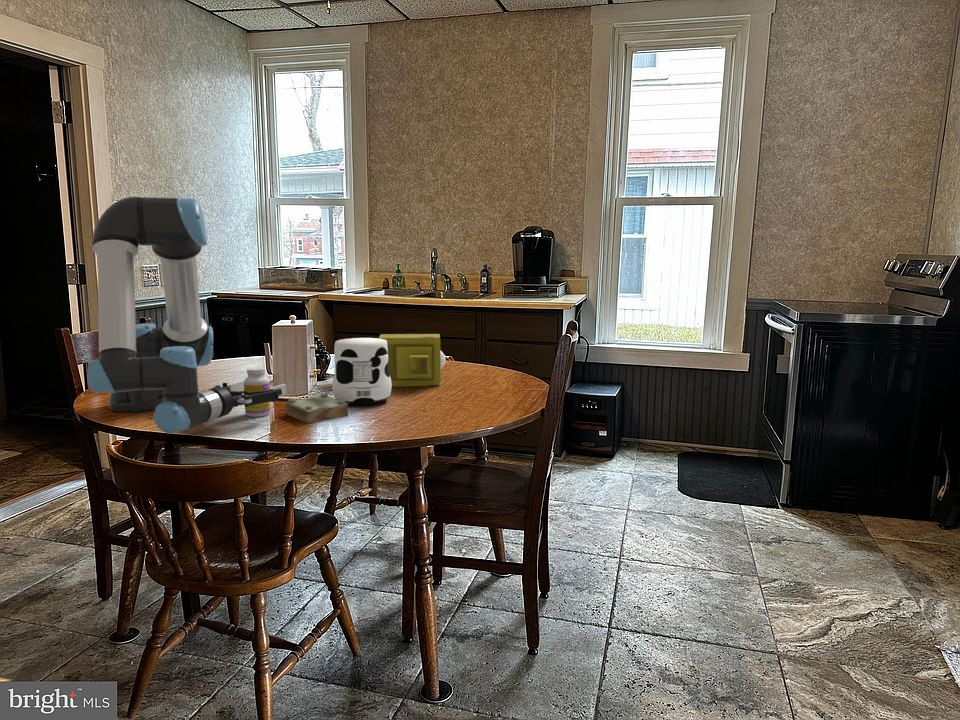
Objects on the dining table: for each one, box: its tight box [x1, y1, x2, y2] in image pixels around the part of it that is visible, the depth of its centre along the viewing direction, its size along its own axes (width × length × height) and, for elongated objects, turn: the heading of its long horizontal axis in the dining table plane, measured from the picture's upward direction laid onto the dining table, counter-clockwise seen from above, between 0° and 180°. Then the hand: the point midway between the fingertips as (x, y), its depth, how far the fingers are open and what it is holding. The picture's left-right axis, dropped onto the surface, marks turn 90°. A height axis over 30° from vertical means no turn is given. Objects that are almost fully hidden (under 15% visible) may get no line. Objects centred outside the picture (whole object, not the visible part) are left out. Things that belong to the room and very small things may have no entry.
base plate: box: [286, 393, 349, 424], centre depth 185 cm, size 12×12×4 cm
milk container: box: [331, 337, 393, 405], centre depth 200 cm, size 17×17×18 cm
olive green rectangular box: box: [378, 333, 446, 387], centre depth 222 cm, size 35×16×16 cm
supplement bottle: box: [243, 366, 272, 418], centre depth 185 cm, size 7×7×13 cm
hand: (264, 386), depth 188 cm, fingers open, 12 cm apart
